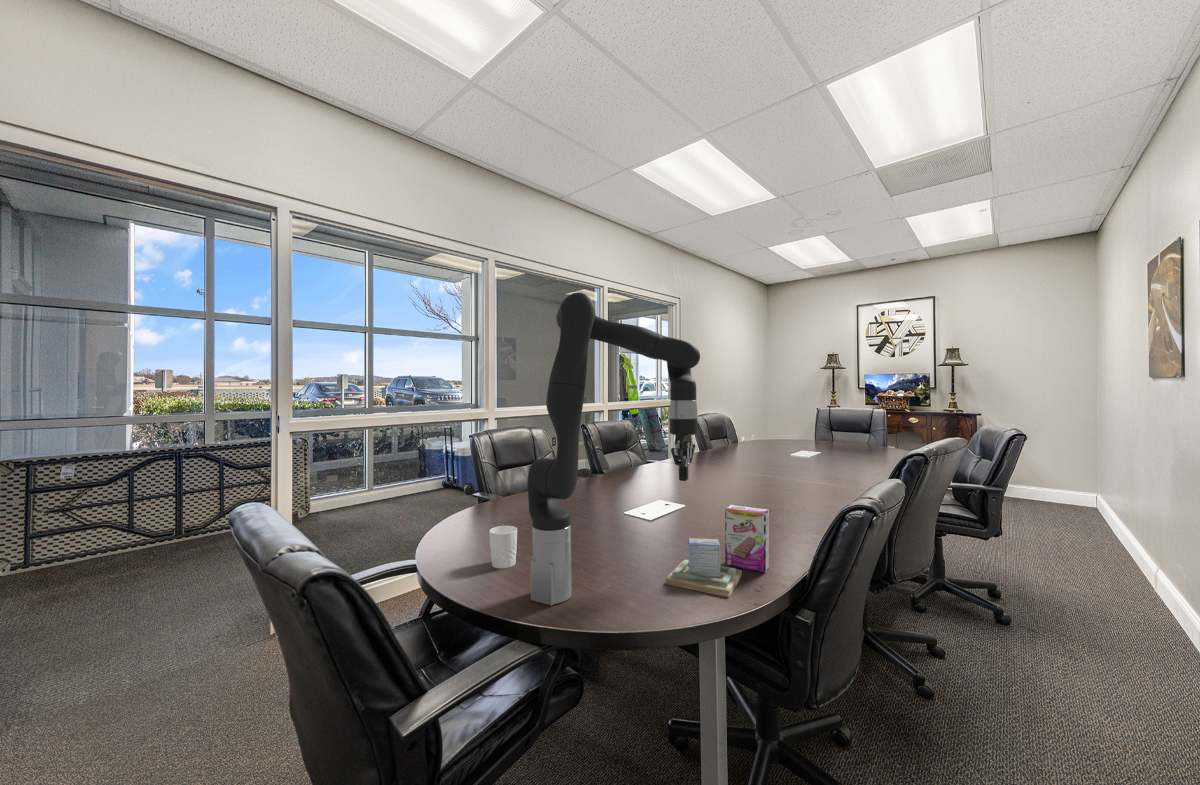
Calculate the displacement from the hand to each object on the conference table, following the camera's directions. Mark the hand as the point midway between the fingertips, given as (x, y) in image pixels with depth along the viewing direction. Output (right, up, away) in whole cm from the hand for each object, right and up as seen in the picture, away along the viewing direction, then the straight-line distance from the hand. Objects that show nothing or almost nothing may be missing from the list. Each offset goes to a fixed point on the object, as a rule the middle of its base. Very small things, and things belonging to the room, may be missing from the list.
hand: (683, 480), depth 125 cm
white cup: (-51, -26, +7) cm, 57 cm away
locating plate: (+4, -25, -6) cm, 26 cm away
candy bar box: (+18, -25, +3) cm, 31 cm away
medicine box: (+4, -24, -6) cm, 25 cm away
